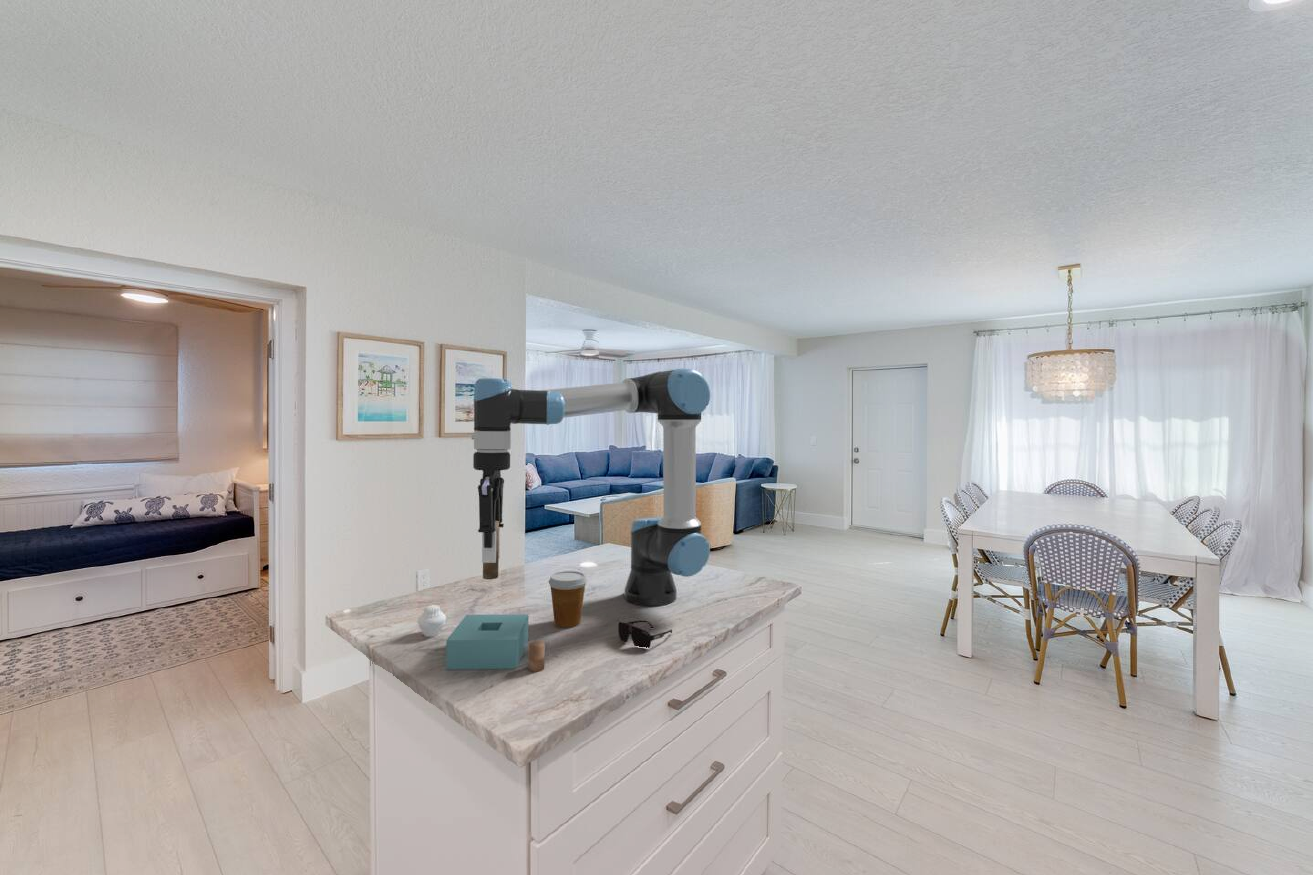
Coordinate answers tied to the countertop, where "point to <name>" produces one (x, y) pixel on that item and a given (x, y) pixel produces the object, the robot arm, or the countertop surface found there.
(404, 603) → the countertop surface
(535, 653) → the short pin
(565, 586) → the disposable coffee cup
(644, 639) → the sunglasses
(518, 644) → the hole block
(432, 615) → the white ribbed jar
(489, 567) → the tall pin
